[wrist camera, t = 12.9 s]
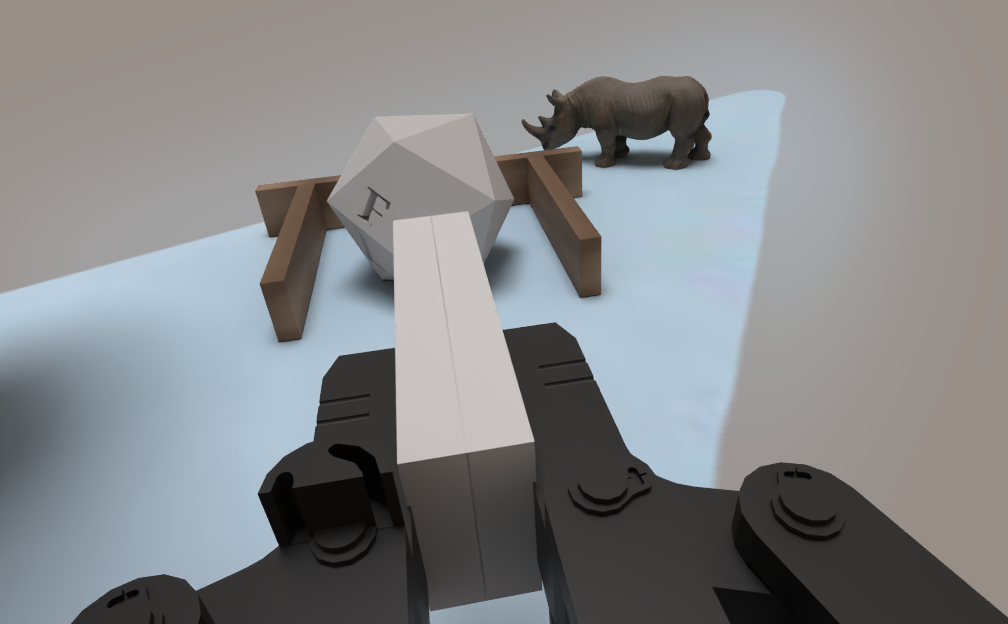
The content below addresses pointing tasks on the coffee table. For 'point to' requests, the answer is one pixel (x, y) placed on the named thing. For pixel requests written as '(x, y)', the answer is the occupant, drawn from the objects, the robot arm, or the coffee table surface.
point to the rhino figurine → (631, 117)
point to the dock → (307, 216)
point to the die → (419, 182)
